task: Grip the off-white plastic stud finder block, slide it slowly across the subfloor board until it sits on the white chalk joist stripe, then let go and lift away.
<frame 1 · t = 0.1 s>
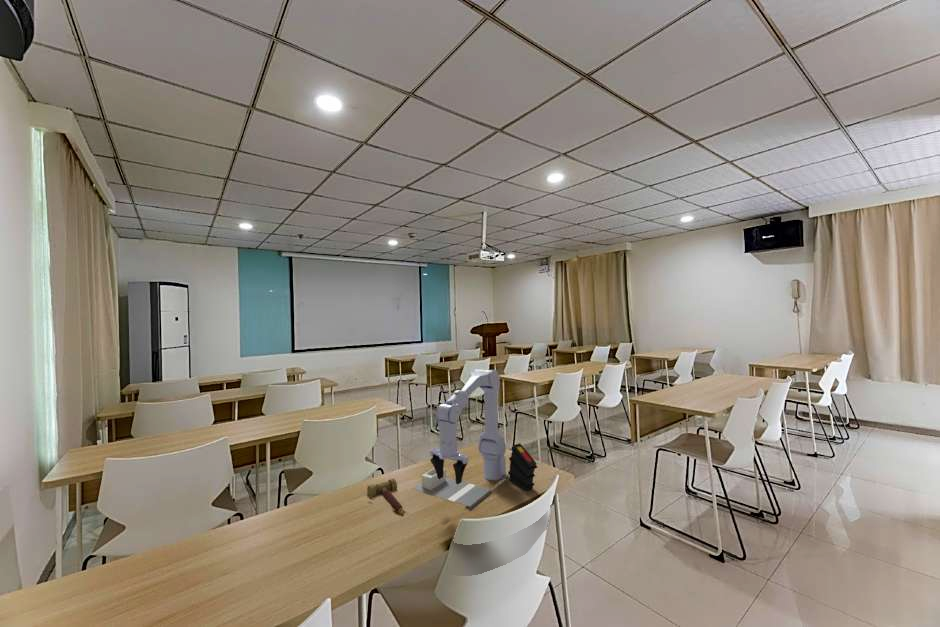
hand: (449, 480, 128), 10 cm above the table, tool pointing down, fingers open, 7 cm apart
gavel: (390, 504, 135), on the table
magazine: (522, 486, 144), on the table
stud finder: (434, 483, 146), point 1 cm above the table, touching subfloor board
subfloor board: (451, 491, 142), on the table
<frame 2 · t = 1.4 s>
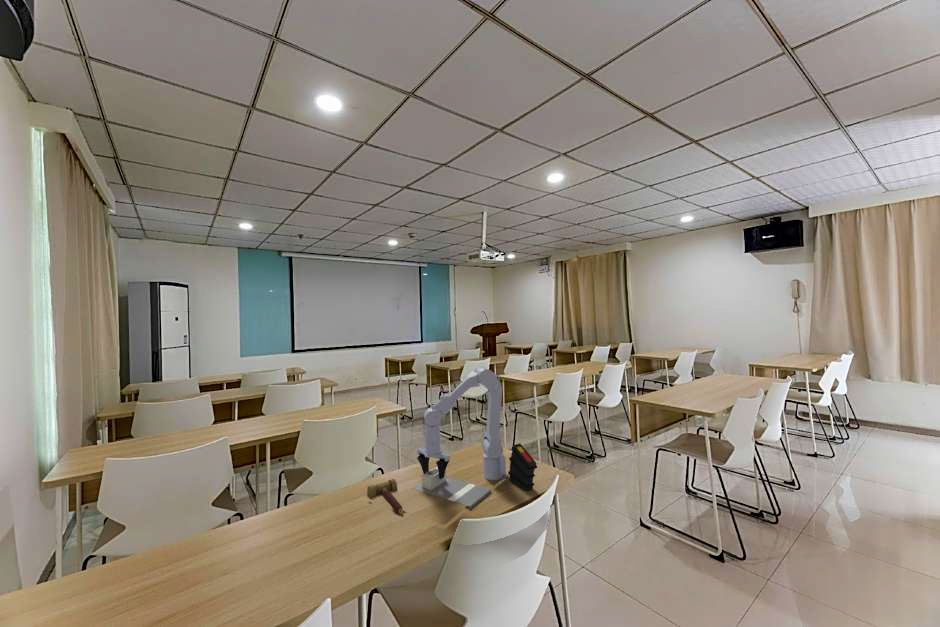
hand: (433, 476, 146), 4 cm above the table, tool pointing down, fingers open, 7 cm apart
nothing on the table moved.
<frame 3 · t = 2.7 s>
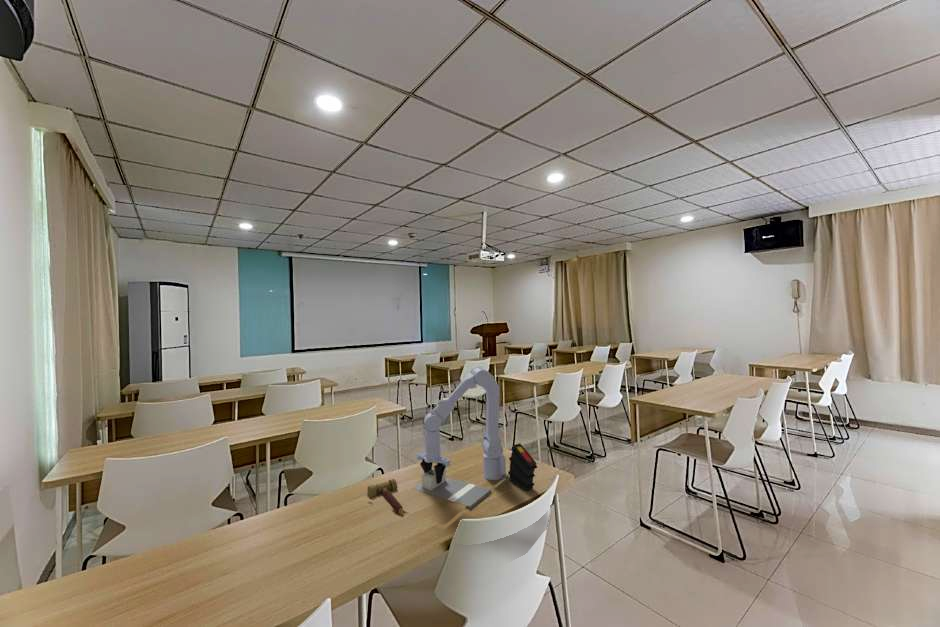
hand: (434, 481, 146), 2 cm above the table, tool pointing down, fingers closed on stud finder, 4 cm apart
stud finder: (434, 483, 146), point 1 cm above the table, touching gripper, subfloor board
everything else where it was.
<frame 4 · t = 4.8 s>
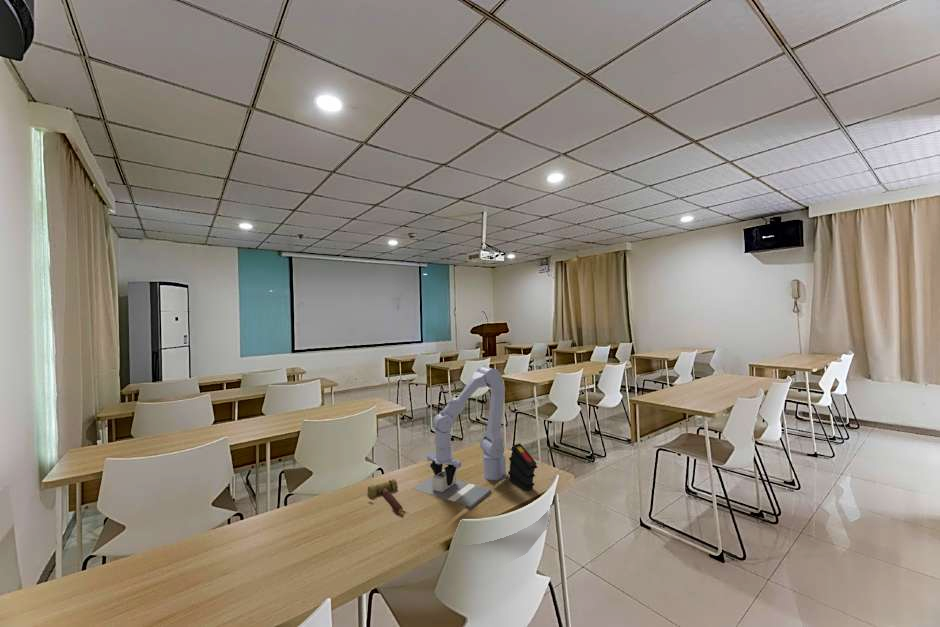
hand: (444, 483, 143), 2 cm above the table, tool pointing down, fingers closed on stud finder, 4 cm apart
stud finder: (444, 485, 143), point 1 cm above the table, touching gripper
everything else where it was.
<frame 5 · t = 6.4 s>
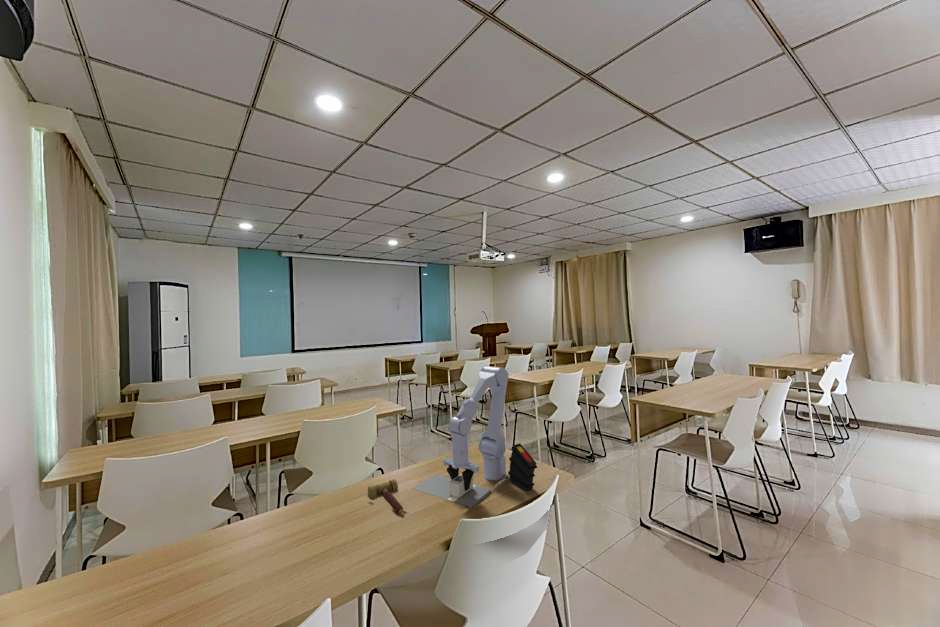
hand: (461, 487, 139), 2 cm above the table, tool pointing down, fingers closed on stud finder, 4 cm apart
stud finder: (461, 490, 139), point 1 cm above the table, touching gripper
everything else where it was.
when the fingers open (2 cm above the table, at t = 7.4 s): stud finder stays where it is, resting on subfloor board.
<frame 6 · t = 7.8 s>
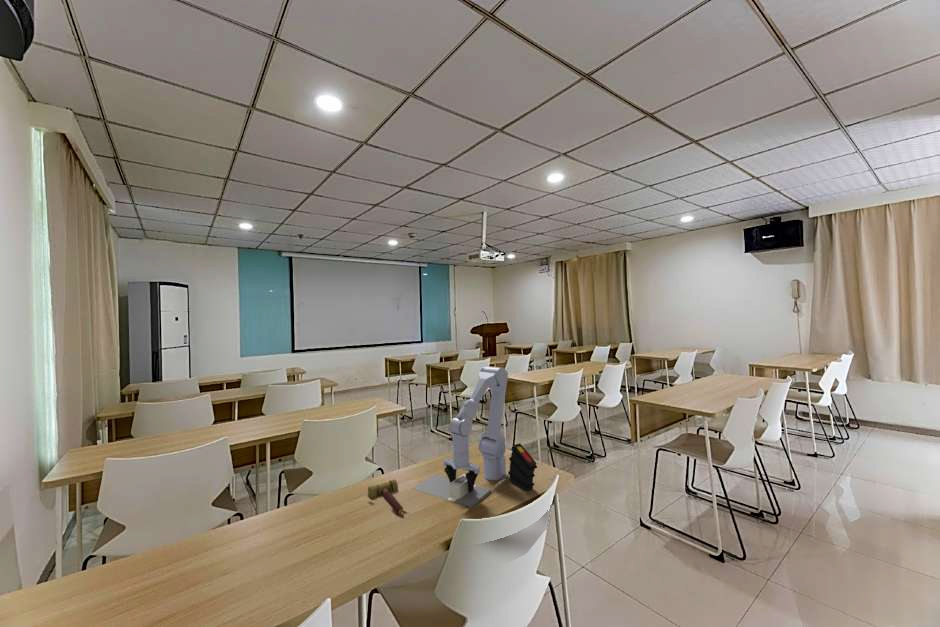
hand: (462, 488, 139), 2 cm above the table, tool pointing down, fingers open, 7 cm apart
stud finder: (462, 492, 139), point 1 cm above the table, touching subfloor board
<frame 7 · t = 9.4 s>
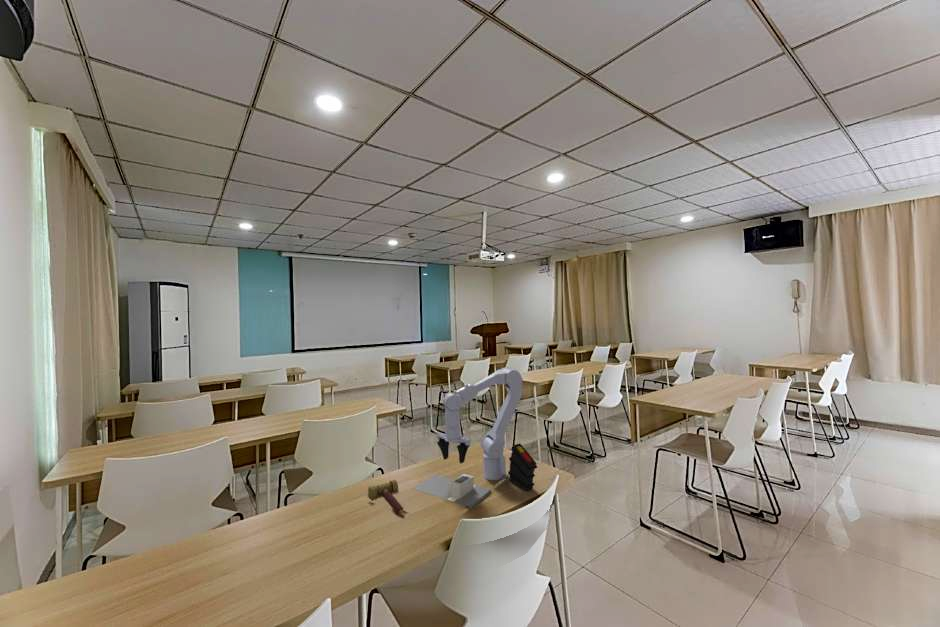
hand: (453, 460, 147), 9 cm above the table, tool pointing down, fingers open, 7 cm apart
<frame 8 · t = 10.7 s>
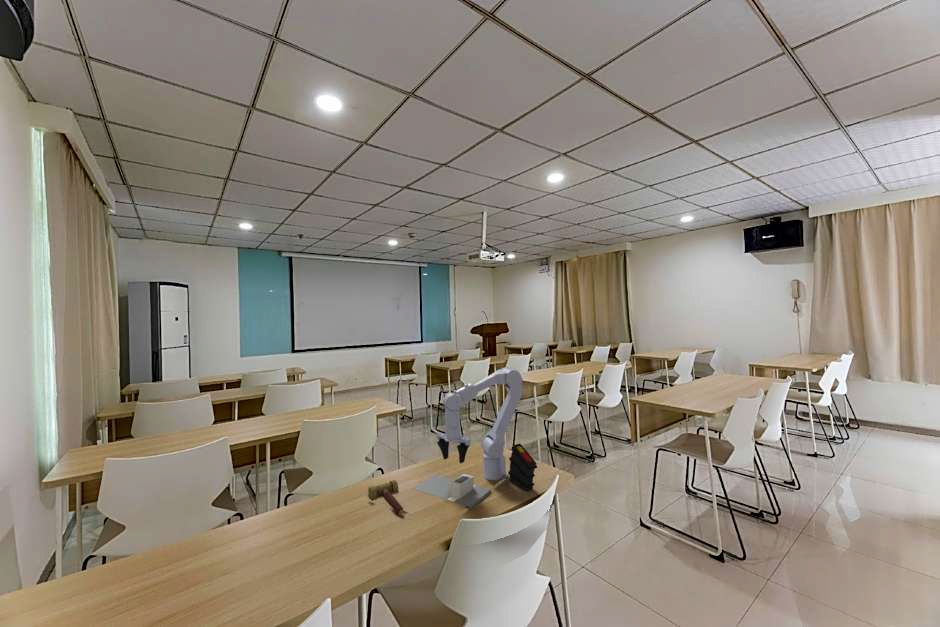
hand: (453, 460, 147), 9 cm above the table, tool pointing down, fingers open, 7 cm apart
at the end: stud finder 0.0 cm from the target spot on the subfloor board, point 1.0 cm above the subfloor board's base; stud finder tilted 0°; the gripper is holding nothing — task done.
